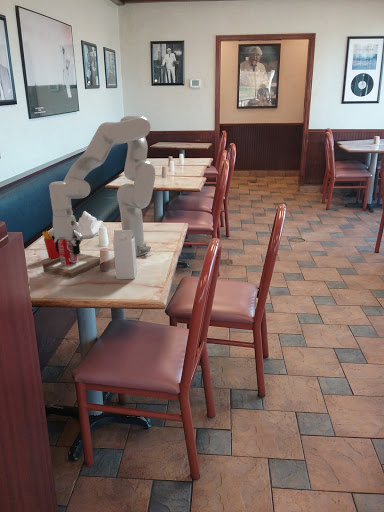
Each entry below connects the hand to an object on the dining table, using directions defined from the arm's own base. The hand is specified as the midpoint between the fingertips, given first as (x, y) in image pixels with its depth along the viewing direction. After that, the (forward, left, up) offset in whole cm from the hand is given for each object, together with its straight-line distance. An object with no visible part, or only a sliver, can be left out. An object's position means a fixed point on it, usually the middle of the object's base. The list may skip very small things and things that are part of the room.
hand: (68, 252), depth 186 cm
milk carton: (-27, -4, -8) cm, 28 cm away
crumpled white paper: (+28, -43, -8) cm, 52 cm away
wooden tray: (0, -3, -7) cm, 8 cm away
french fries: (+17, -8, -8) cm, 20 cm away
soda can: (0, 0, -5) cm, 5 cm away
